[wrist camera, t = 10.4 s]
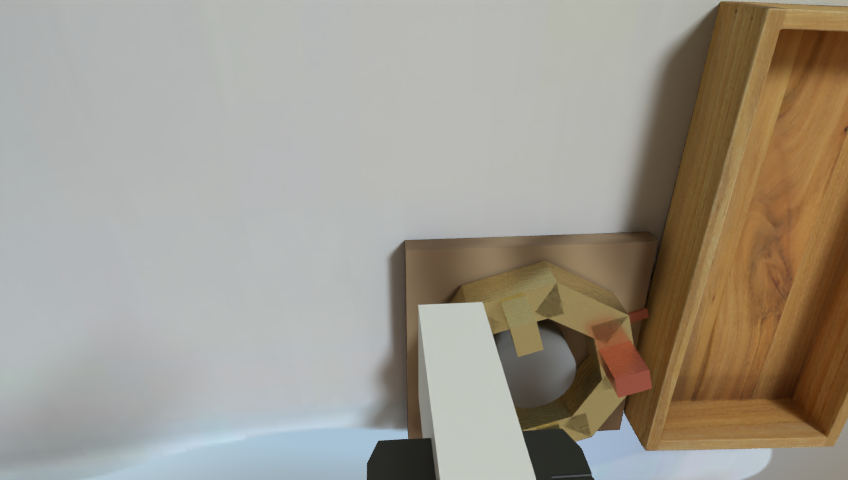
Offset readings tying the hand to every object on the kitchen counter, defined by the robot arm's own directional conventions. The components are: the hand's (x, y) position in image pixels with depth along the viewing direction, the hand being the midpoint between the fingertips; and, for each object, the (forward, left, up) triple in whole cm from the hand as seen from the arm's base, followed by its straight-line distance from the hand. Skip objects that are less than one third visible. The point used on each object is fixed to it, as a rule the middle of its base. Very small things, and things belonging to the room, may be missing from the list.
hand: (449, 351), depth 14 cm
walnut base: (+9, -18, -24) cm, 31 cm away
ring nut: (+8, -18, -23) cm, 30 cm away
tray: (+26, -10, -25) cm, 37 cm away
